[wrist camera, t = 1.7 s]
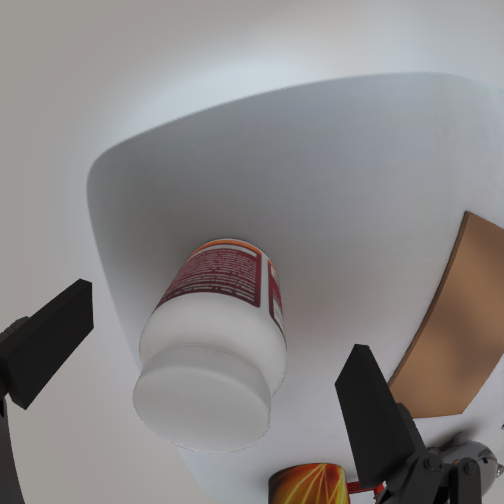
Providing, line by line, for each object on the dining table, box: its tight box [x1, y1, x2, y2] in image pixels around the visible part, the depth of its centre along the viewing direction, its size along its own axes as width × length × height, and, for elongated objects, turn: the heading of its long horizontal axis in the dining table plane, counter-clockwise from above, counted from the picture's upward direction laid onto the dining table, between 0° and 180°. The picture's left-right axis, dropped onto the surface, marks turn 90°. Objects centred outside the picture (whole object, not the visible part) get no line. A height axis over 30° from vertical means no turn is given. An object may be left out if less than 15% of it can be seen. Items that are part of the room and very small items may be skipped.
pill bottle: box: [133, 238, 287, 453], centre depth 13 cm, size 6×6×11 cm
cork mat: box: [387, 211, 504, 419], centre depth 19 cm, size 20×14×1 cm
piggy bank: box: [427, 432, 504, 504], centre depth 21 cm, size 11×15×12 cm
